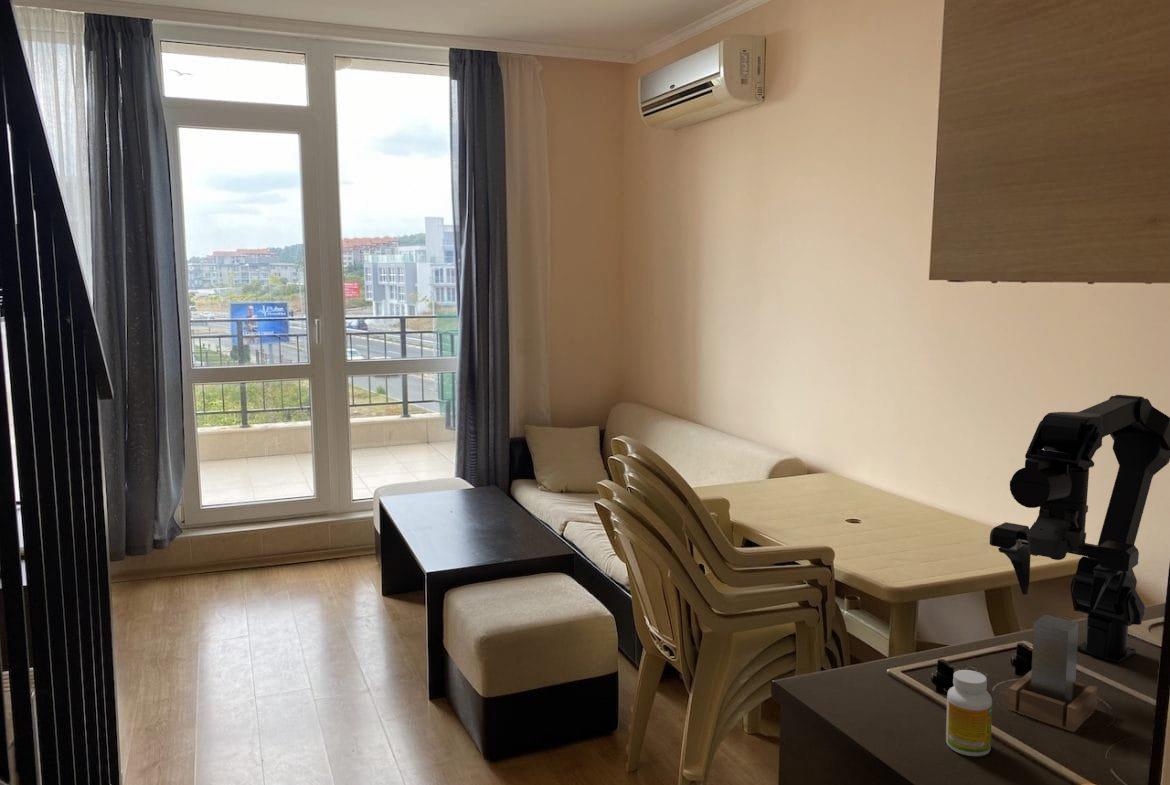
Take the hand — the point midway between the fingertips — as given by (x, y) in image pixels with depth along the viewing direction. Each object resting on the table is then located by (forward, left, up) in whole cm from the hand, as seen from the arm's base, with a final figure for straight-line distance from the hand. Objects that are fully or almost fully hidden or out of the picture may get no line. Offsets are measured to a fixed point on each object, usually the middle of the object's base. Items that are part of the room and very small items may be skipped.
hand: (1057, 601), depth 130 cm
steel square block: (+9, +4, -12) cm, 16 cm away
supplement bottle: (+27, +3, -13) cm, 30 cm away
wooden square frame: (+9, +4, -13) cm, 16 cm away
